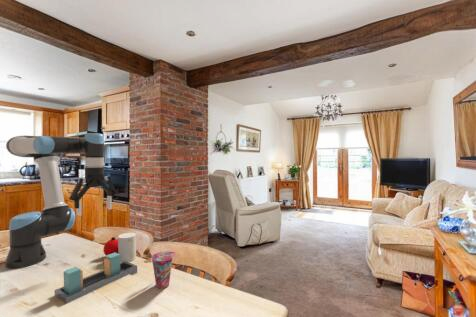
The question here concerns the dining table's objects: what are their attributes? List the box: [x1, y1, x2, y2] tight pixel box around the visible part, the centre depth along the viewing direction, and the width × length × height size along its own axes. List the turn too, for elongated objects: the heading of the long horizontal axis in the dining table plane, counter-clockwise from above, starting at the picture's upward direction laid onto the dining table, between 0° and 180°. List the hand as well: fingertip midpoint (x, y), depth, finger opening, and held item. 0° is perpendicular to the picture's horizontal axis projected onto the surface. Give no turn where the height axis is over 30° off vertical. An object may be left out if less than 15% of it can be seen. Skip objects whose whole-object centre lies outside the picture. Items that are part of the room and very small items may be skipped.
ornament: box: [102, 236, 118, 256], centre depth 123 cm, size 9×9×10 cm
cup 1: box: [117, 232, 137, 263], centre depth 121 cm, size 8×8×12 cm
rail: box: [54, 261, 138, 305], centre depth 98 cm, size 9×28×3 cm, turn 148°
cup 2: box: [150, 251, 176, 289], centre depth 97 cm, size 9×8×12 cm
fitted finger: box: [63, 266, 84, 295], centre depth 89 cm, size 4×5×9 cm
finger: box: [103, 253, 121, 278], centre depth 102 cm, size 4×5×9 cm
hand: (95, 212), depth 112 cm, fingers open, 13 cm apart
